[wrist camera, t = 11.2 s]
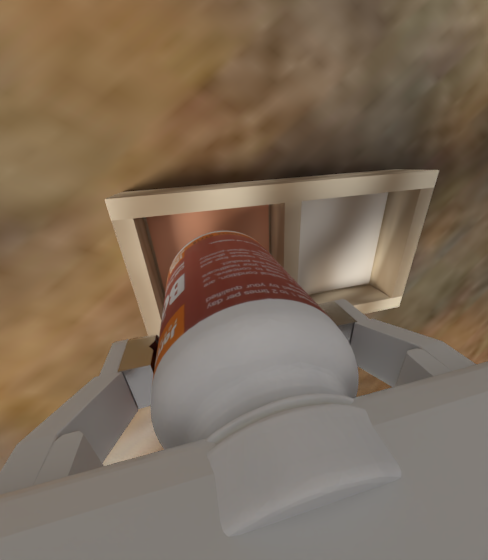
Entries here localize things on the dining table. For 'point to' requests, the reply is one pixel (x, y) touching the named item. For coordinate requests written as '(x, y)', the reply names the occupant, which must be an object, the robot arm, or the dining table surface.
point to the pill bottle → (260, 386)
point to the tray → (285, 232)
